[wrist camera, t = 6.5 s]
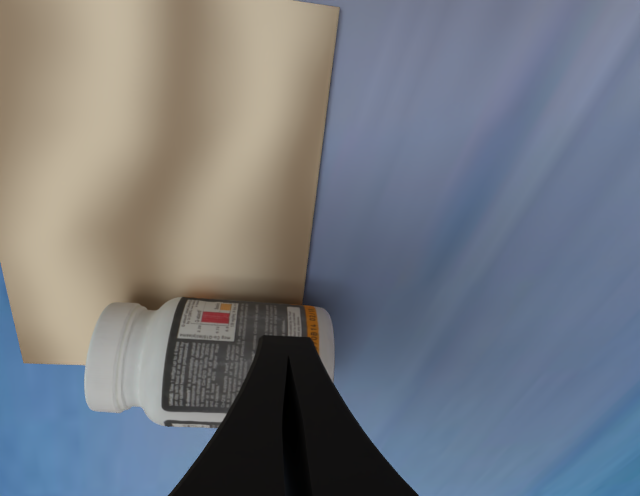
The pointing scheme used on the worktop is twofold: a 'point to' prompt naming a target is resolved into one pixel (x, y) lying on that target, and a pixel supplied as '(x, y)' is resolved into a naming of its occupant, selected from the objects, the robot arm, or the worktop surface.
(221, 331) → the pill bottle
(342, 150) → the worktop surface
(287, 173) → the beige flat rectangular panel
